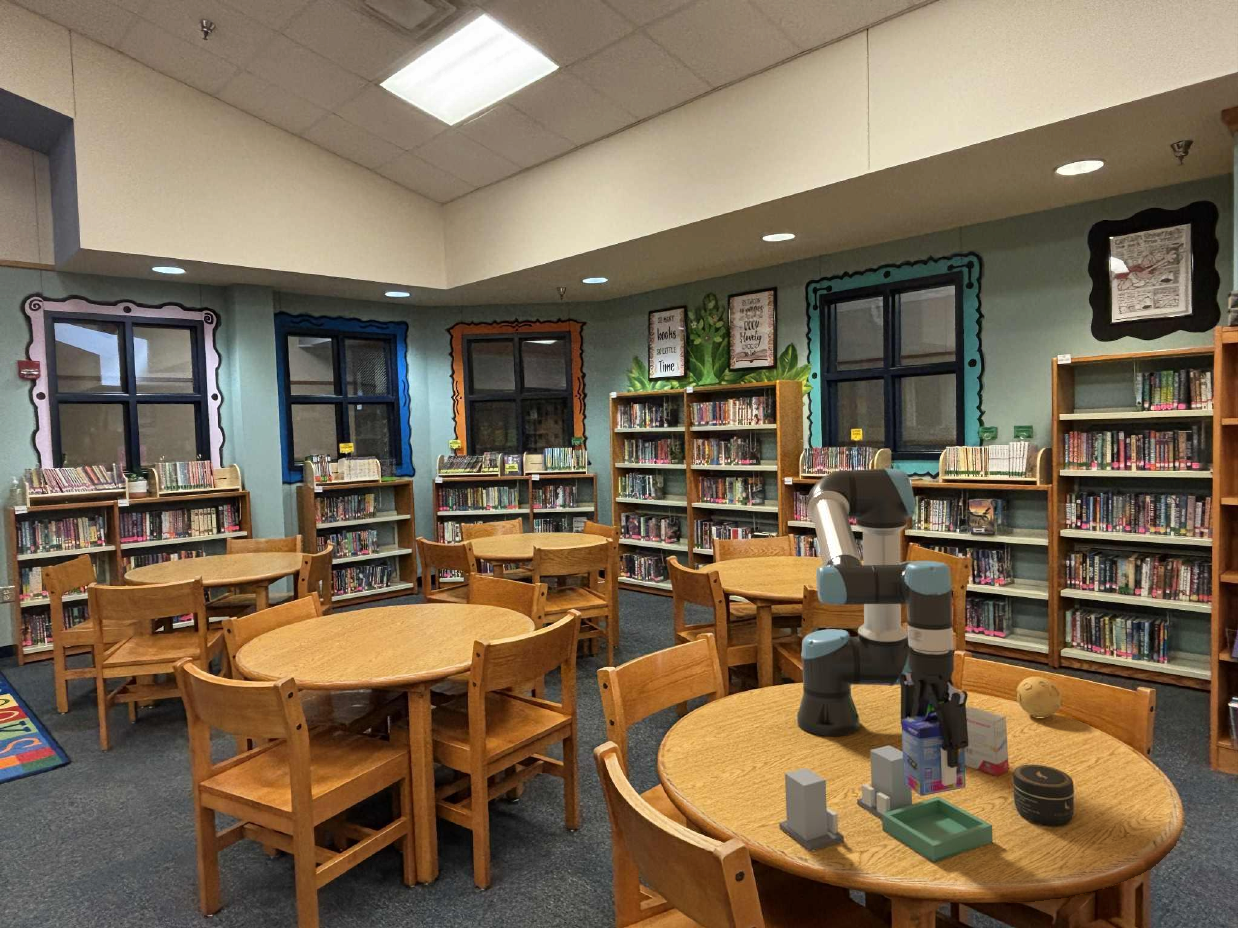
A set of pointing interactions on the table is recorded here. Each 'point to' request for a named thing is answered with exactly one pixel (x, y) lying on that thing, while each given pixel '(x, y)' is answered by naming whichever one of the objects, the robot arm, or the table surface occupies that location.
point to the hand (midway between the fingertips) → (934, 775)
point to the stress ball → (1038, 696)
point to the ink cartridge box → (927, 756)
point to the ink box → (986, 741)
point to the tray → (937, 828)
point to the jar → (1043, 795)
